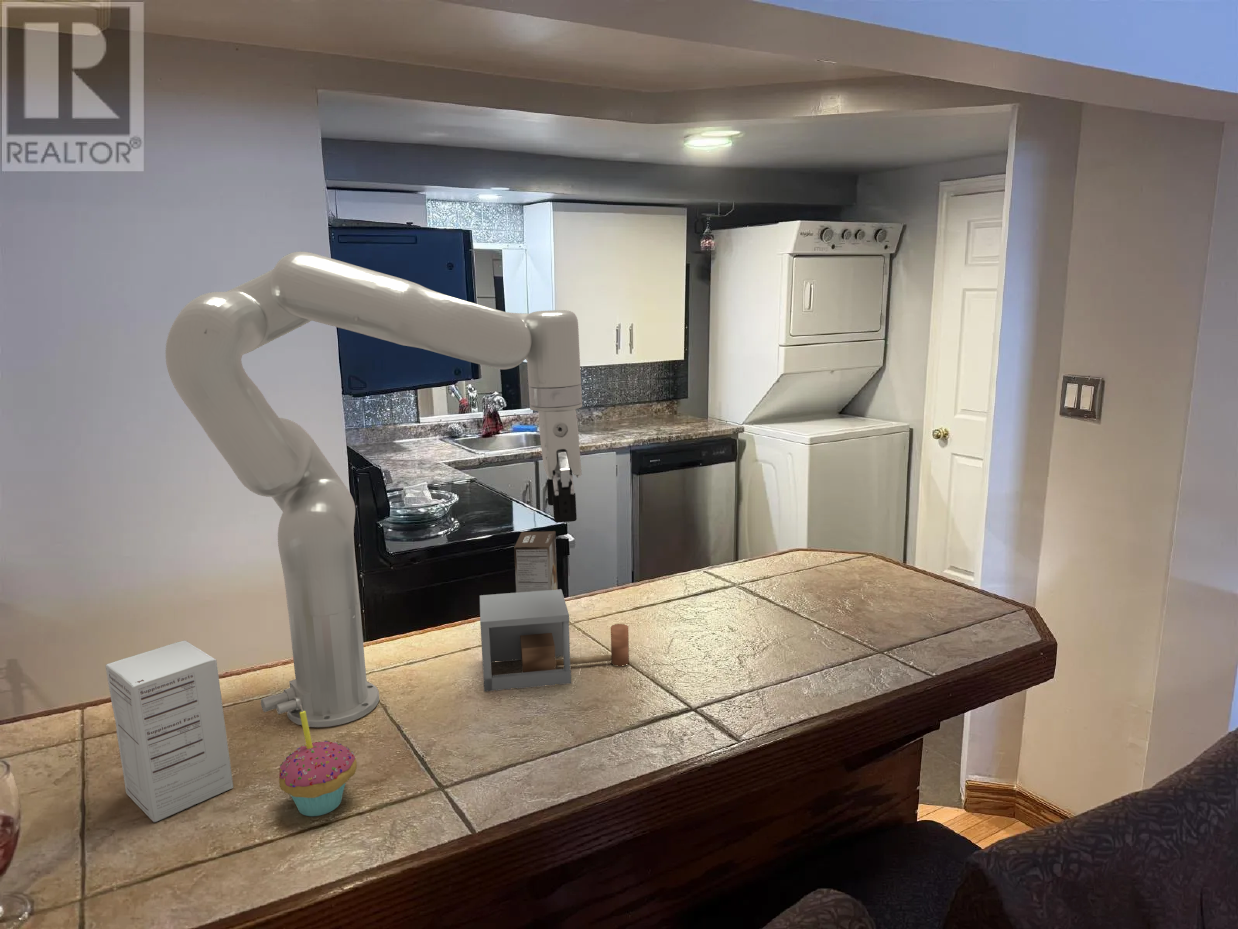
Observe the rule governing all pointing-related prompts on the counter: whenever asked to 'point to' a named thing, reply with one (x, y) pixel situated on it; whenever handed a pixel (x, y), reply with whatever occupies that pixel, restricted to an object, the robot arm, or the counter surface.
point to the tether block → (542, 657)
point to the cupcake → (316, 774)
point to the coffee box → (536, 561)
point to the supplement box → (170, 728)
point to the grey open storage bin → (519, 617)
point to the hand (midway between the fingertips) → (561, 512)
